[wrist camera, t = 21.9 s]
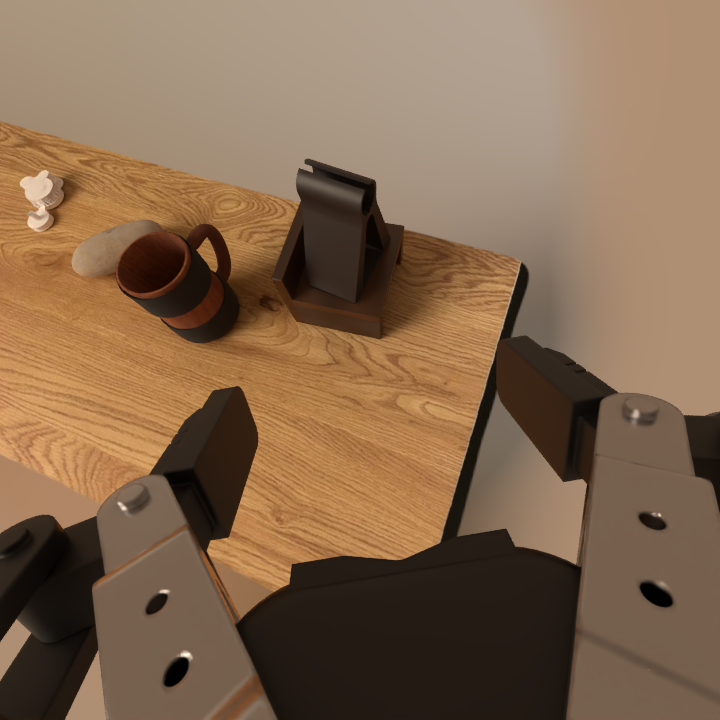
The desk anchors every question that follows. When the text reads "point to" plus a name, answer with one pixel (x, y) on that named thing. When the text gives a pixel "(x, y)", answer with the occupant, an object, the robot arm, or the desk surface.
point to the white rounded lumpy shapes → (42, 198)
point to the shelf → (327, 307)
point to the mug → (181, 282)
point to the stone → (109, 248)
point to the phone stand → (340, 229)
